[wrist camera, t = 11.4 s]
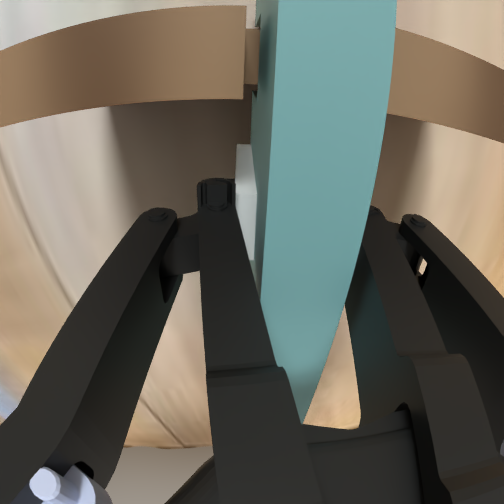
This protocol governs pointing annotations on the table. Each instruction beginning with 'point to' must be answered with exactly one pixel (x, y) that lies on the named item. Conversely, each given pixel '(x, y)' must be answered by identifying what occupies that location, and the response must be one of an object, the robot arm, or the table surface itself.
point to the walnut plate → (222, 69)
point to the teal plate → (315, 166)
